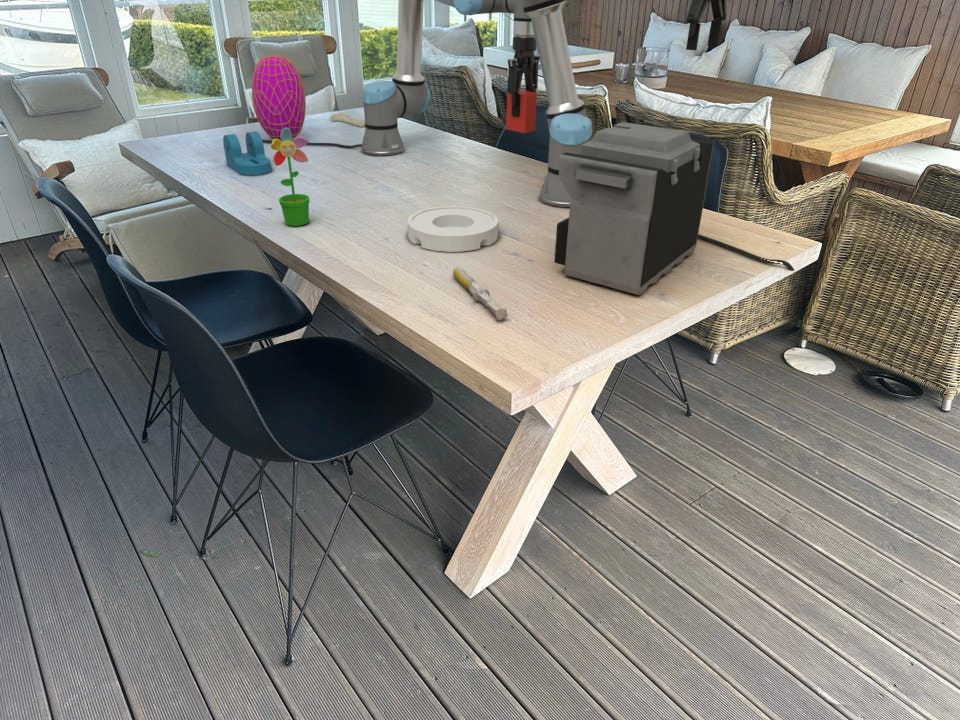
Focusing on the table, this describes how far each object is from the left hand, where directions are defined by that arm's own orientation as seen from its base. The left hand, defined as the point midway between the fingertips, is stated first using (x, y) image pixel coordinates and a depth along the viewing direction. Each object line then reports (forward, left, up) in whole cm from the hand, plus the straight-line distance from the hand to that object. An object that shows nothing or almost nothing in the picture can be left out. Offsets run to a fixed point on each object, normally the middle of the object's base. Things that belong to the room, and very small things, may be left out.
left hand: (521, 114), depth 223 cm
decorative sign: (-95, +36, -18) cm, 104 cm away
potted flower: (-32, -77, -18) cm, 85 cm away
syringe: (+32, -97, -18) cm, 103 cm away
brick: (0, 0, -5) cm, 5 cm away
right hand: (+54, 0, +23) cm, 58 cm away
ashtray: (+10, -66, -18) cm, 70 cm away
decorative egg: (-97, -4, -18) cm, 98 cm away
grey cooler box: (+55, -64, -18) cm, 86 cm away
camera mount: (-80, -41, -18) cm, 92 cm away
